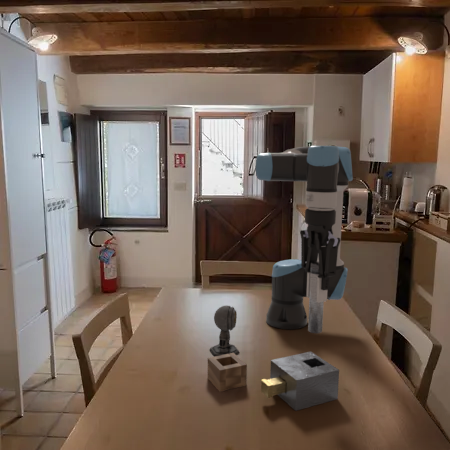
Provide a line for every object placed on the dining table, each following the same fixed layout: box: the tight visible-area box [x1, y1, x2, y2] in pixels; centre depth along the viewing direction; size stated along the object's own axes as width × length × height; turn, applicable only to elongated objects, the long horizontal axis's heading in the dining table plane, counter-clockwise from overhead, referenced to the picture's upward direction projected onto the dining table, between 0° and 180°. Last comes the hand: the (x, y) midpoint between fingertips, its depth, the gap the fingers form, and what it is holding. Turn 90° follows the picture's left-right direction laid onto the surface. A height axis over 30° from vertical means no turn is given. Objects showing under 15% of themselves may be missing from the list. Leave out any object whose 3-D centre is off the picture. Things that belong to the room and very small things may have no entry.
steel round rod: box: [307, 262, 324, 334], centre depth 118 cm, size 4×4×18 cm
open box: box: [207, 353, 248, 392], centre depth 126 cm, size 8×8×6 cm
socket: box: [269, 350, 340, 412], centre depth 120 cm, size 12×13×8 cm
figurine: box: [209, 305, 240, 357], centre depth 144 cm, size 9×10×15 cm
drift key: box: [260, 377, 287, 399], centre depth 117 cm, size 3×9×3 cm, turn 116°
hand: (316, 298), depth 118 cm, fingers closed on steel round rod, 3 cm apart
